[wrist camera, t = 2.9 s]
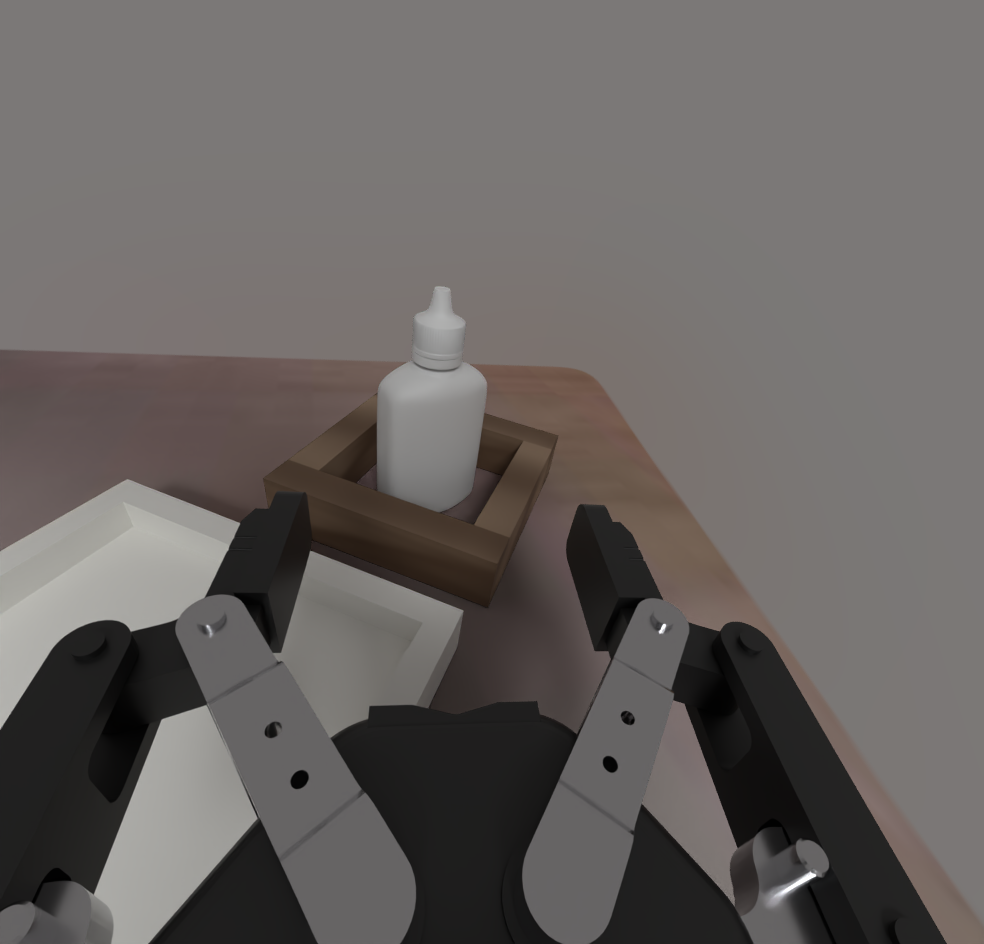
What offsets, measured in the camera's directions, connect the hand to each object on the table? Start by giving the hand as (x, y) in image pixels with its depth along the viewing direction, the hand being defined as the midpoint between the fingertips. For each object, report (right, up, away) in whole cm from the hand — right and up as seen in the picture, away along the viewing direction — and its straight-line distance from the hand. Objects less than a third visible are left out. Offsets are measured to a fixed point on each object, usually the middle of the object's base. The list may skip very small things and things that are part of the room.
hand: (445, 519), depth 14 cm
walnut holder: (-2, 0, +14) cm, 14 cm away
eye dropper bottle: (-3, 0, +14) cm, 14 cm away
